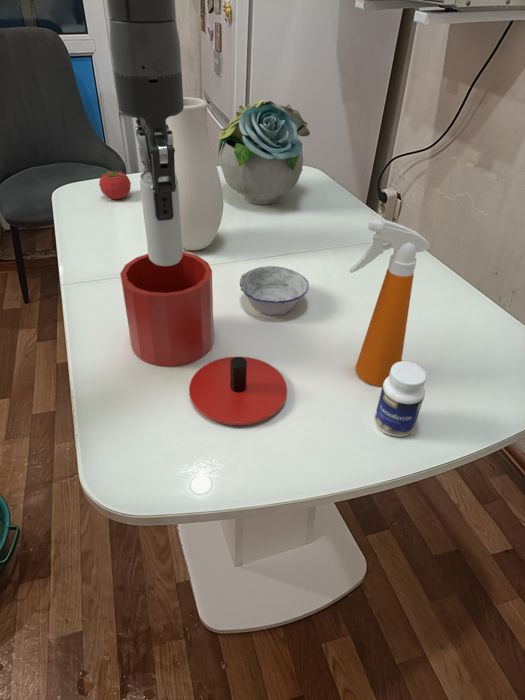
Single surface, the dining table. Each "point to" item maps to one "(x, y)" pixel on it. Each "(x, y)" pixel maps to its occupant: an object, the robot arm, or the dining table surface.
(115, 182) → the tomato
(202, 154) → the vase
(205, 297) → the pot
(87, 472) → the dining table surface
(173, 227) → the beverage can
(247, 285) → the bowl
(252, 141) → the flower arrangement
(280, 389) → the lid
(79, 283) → the dining table surface
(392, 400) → the pill bottle
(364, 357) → the spray bottle
